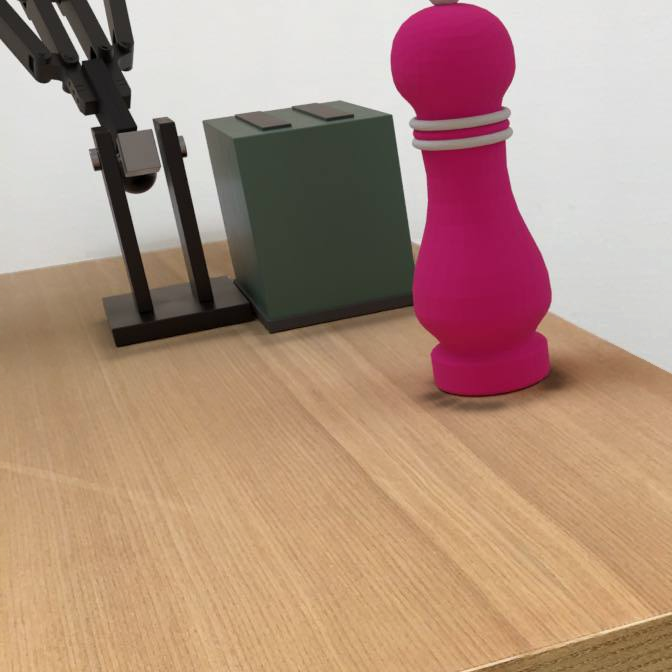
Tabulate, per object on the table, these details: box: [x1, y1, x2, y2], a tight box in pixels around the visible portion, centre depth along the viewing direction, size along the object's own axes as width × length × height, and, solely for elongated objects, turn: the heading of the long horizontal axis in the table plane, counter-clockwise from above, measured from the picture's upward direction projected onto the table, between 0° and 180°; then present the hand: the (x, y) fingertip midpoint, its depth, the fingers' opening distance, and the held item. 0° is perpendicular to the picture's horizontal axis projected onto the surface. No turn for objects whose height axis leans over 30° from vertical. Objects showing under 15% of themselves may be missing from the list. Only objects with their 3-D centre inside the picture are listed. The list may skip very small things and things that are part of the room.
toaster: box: [201, 100, 416, 334], centre depth 83 cm, size 14×10×12 cm
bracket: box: [88, 116, 254, 348], centre depth 82 cm, size 10×9×13 cm
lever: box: [116, 128, 162, 195], centre depth 85 cm, size 13×3×3 cm, turn 22°
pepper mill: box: [389, 0, 553, 396], centre depth 61 cm, size 7×7×20 cm
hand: (126, 141), depth 89 cm, fingers closed
